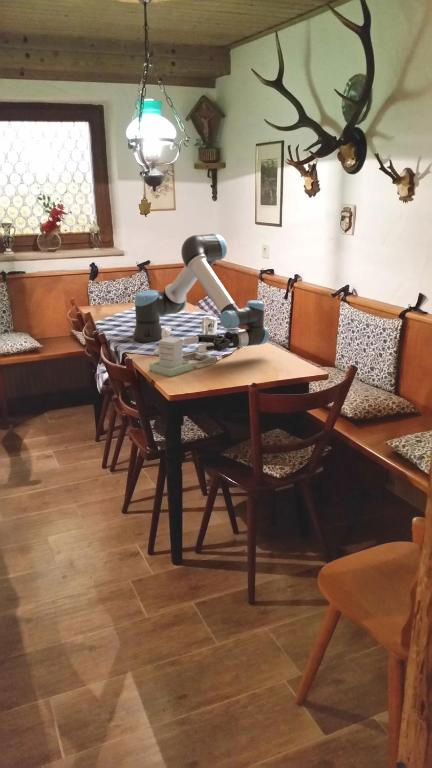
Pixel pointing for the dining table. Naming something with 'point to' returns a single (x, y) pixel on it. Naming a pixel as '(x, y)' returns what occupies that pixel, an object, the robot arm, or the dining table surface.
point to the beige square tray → (206, 358)
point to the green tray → (170, 372)
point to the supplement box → (170, 352)
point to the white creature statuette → (165, 333)
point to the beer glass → (209, 326)
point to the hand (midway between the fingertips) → (191, 345)
